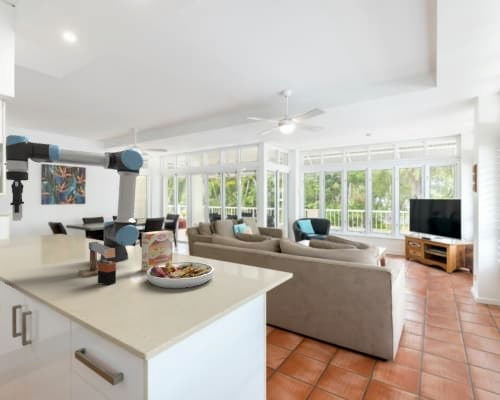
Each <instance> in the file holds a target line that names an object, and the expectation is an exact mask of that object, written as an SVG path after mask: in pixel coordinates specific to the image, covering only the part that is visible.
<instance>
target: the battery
mask: <svg viewBox="0 0 500 400" xmlns="http://www.w3.org/2000/svg"><path fill="white" fill-rule="evenodd" d="M102 261H103V262H102ZM102 261H100V262H98V263H97V267H98V275H97V284H100V285H105V286H110V285H114V284H117V279H116V278H117V263H116V262H112V261H107V260H102Z"/></svg>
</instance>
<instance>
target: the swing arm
mask: <svg viewBox="0 0 500 400" xmlns="http://www.w3.org/2000/svg"><path fill="white" fill-rule="evenodd" d="M90 249H91V250H93V251H95V252H97V254H99V255H100V256H101V255H103V256H105V258H112V257H115V249H114V248H109V247H107V246H105V245H104V244H102V243H101V242H99V241H91V242H88V250H90Z"/></svg>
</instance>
